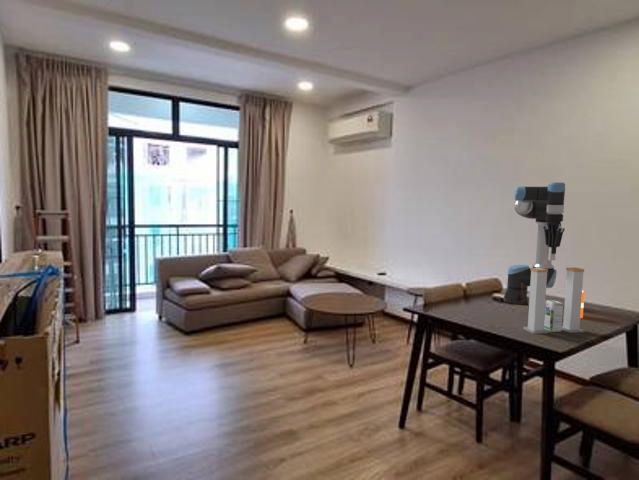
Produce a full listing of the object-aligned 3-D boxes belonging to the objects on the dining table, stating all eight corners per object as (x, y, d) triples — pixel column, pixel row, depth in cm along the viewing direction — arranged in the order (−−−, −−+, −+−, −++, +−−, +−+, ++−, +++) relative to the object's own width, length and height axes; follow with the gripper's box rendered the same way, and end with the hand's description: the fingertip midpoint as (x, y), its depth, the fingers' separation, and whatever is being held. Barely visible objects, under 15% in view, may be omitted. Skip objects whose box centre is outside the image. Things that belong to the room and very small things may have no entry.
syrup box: (543, 328, 211) (545, 300, 210) (554, 328, 212) (556, 300, 210) (550, 332, 205) (552, 303, 204) (561, 331, 206) (563, 302, 205)
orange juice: (581, 314, 238) (584, 280, 236) (582, 318, 230) (585, 282, 228) (565, 313, 241) (568, 278, 239) (566, 316, 233) (568, 281, 232)
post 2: (569, 332, 205) (573, 269, 202) (558, 327, 213) (562, 267, 210) (584, 332, 206) (588, 269, 203) (572, 327, 214) (576, 267, 211)
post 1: (532, 333, 203) (536, 270, 200) (523, 328, 211) (526, 267, 208) (548, 333, 204) (552, 270, 201) (537, 328, 211) (541, 267, 208)
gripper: (539, 212, 216) (536, 258, 219) (556, 214, 204) (553, 262, 206) (552, 212, 217) (549, 257, 220) (570, 214, 204) (567, 261, 207)
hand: (551, 259), depth 213 cm, fingers closed
